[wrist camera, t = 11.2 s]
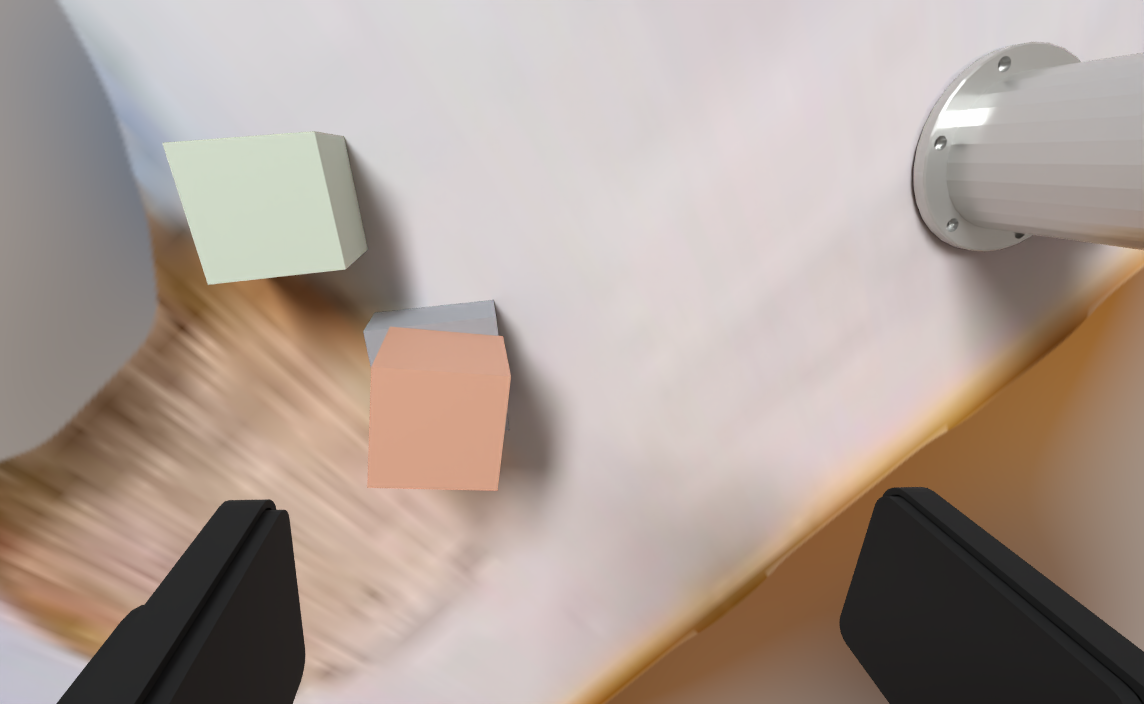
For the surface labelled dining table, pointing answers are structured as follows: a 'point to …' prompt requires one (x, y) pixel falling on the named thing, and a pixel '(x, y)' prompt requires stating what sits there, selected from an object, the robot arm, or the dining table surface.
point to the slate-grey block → (433, 323)
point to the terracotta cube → (437, 410)
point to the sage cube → (269, 204)
